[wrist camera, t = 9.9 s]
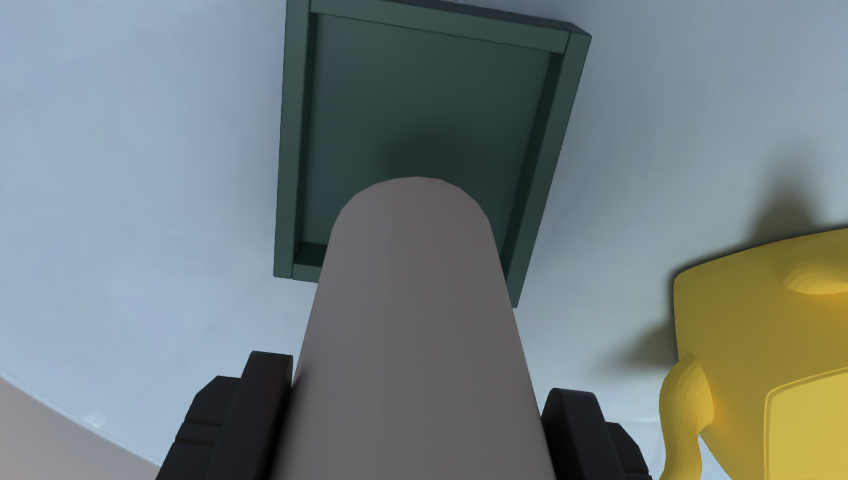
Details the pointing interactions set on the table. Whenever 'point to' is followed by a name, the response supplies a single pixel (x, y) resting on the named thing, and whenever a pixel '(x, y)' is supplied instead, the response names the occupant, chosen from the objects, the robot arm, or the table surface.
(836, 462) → the teapot
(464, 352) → the beverage can
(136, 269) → the table surface
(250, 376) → the robot arm
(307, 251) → the dark green tray
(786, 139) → the table surface
